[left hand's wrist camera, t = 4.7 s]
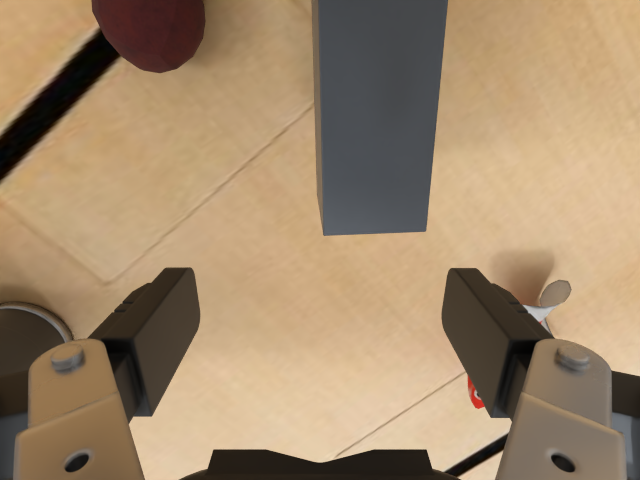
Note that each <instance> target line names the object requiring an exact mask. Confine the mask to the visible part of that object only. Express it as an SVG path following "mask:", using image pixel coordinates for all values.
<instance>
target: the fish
mask: <svg viewBox="0 0 640 480" xmlns="http://www.w3.org/2000/svg"><path fill="white" fill-rule="evenodd" d="M570 292H571V287H570V284H569V282H568V281H564V280H557V281H555V282H553V283H551V284H550V285H548V286H547V287H546V288H545V290H544V291H543V293H542V296H541V298H540V304H541V307H538V306H527V305H523V306H524V307H525V308H526V309H527V310H528V313H531V314H532V315H533V316H534V317H535V318H536V319H537V321H538V322H539V323H540V324H541V325H542V326H543V327H544V328H545V329H546V330H547V331H548V332H549V333H550V334H551V335H552V333H551V331H550V329H549V327H548V325H547V322H546V320H545V317H546V316H547V315H548V314H549V313H550V312H551V311H552V310H553V309H554V308H555V307H556V306H558V305H559V304H561V303H563V302H565V301H566V299H567V298H568V296H569V295H570ZM552 336H553V335H552ZM468 392H469V396H470V399H471V401H472V403H473V405H474V406H475V408H478V409H479V408H482V407H485V406H484V404H483V402H482V400H481V398H480V397H479V395H478V393H477V391H476V389H475V387H474V385H473V384H472V382H471V380H470V378H469V376H468Z"/></svg>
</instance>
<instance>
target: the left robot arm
mask: <svg viewBox="0 0 640 480" xmlns="http://www.w3.org/2000/svg"><path fill="white" fill-rule="evenodd" d="M199 323H200V307H199V301H198V294H197V287H196V281H195V275H194V271H193V269H192V268H165V269H164V270H163V271H162V272H161V273H160V274H159V275H158V276H157V277H156V278H155V279H154V281H153V282H152V283H147V284H145V285H143V286H142V287H140V288H138V289H136V290H135V291H133V292H132V293H131V294H130V295H129V296H128V297H127V298H126V299H125V300H124V301H123V304H120V305H119V306H118V307H117V308H116V309H115V310H114V312H112V313H111V314H110V315H109V316H108V317H107V318H106V319H105V320H104V321H103V323H102V324H101V325H100V326H99V327H98V328H97V329H96V330H95V331H94V332H93V333H92V334H91V335H90V336H89V337H88V338H87V339H78V340H74V341H73V340H72V337H71V334H70V332H69V330H68V329H67V327H66V326H65V325H64V323H63V322H62V321H61V320H60V319H59V318H57V317H56V316H55V315H53V314H52V313H50V312H49V311H47V310H45V309H43V308H41V307H38V306H35V305H32V304H28V303H21V302H10V303H4V304H0V480H145V478H144V475H143V471H142V468H141V465H140V461H139V458H138V455H137V451H136V448H135V444H134V441H133V438H132V434H131V431H130V428H129V423H130V421H131V419H132V418H133V416H152V415H153V413H154V412H155V410H156V408H157V406H158V404H159V402H160V400H161V398H162V396H163V395H164V393H165V391H166V389H167V387H168V385H169V383H170V381H171V379H172V378H173V376H174V374H175V372H176V370H177V368H178V366H179V364H180V362H181V361H182V359H183V357H184V355H185V353H186V351H187V349H188V347H189V345H190V344H191V342H192V340H193V338H194V336H195V334H196V332H197V330H198V327H199ZM442 324H443V328H444V331H445V333H446V335H447V337H448V339H449V341H450V342H451V344H452V346H453V348H454V350H455V352H456V354H457V356H458V357H459V359H460V361H461V363H462V365H463V367H464V369H465V370H466V372H467V374H468V376H469V378H470V380H471V382H472V384H473V385H474V387H475V389H476V391H477V393H478V395H479V397H480V398H481V400H482V402H483V404H484V406H485V408H486V410H487V412H488V413H489V415H490V417H491V418H510V419H511V421H512V424H511V428H510V431H509V434H508V438H507V441H506V444H505V448H504V451H503V455H502V458H501V461H500V465H499V468H498V471H497V475H496V478H495V480H640V376H635V375H630V374H626V373H621V372H616V371H611V369H610V367H609V365H608V364H607V362H606V361H605V360H604V359H603V358H602V357H600V356H599V355H598V354H596V353H595V352H593V351H592V350H590V349H588V348H586V347H584V346H582V345H579V344H576V343H574V342H570V341H566V340H562V339H555V338H554V337H553V336H552V335H551V334H550V333H549V332H548V331H547V330H546V329H545V328H544V327H543V326H542V325H541V324H540V323H539V322H538V321H537V319H536V318H535V317H534V316H533V315H532V314H531V313H528V310H527V309H526V308H525V307H524V306H523V305H520V302H519V301H518V300H517V299H516V298H515V297H514V296H513V295H512V294H511V293H510V292H508V291H507V290H505V289H503V288H501V287H500V286H498V285H496V284H491V283H490V282H489V281H488V280H487V279H486V278H485V277H484V275H483V274H482V273H481V272H480V271H479V270H478V269H476V268H451V269H450V270H449V272H448V275H447V281H446V287H445V294H444V300H443V307H442ZM180 480H460V479H458V478H456V477H454V476H452V475H449V474H447V473H444V472H441V471H439V470H435V469H432V466H431V463H430V460H429V456H428V453H427V450H371V451H367V452H363V453H359V454H355V455H351V456H347V457H343V458H340V459H336V460H332V461H328V462H323V463H317V462H312V461H308V460H304V459H300V458H297V457H293V456H289V455H285V454H281V453H277V452H273V451H269V450H213V453H212V456H211V460H210V463H209V466H208V469H205V470H201V471H199V472H196V473H193V474H191V475H188V476H186V477H184V478H182V479H180Z"/></svg>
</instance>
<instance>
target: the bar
mask: <svg viewBox="0 0 640 480" xmlns="http://www.w3.org/2000/svg"><path fill="white" fill-rule="evenodd" d="M447 5H448V0H312V33H313V68H314V104H315V139H316V174H317V197H318V204H319V210H320V216H321V223H322V229H323V235H324V236H329V235H354V234H378V233H403V232H425V231H426V226H427V216H428V205H429V195H430V184H431V174H432V163H433V153H434V142H435V131H436V121H437V110H438V100H439V89H440V79H441V68H442V58H443V47H444V36H445V26H446V15H447Z"/></svg>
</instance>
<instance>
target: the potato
mask: <svg viewBox="0 0 640 480" xmlns="http://www.w3.org/2000/svg"><path fill="white" fill-rule="evenodd" d="M92 11H93V14H94V16H95V18H96V20H97V22H98V24H99V26H100V28H101V30H102V32H103V34H104V36H105V37H106V39H107V40H108V41H109V42H110V43H111V45H112V46H113V47H114V48H115V49H116V50H117V51H118V53H119V54H120V55H121V56H122V57H123V58H125V59H126V60H127V61H129V62H130V63H132V64H133V65H135V66H136V67H138V68H139V69H141V70H144V71H150V72H156V73H163V72H166V71H170V70H174V69H177V68H179V67H180V66H181V65H182V64H184V63H185V62H186V61H188V60H189V59H190V58H192V57H193V55H194V54H195V52H196V50H197V48H198V46H199V44H200V43H201V41H202V39H203V33H204V27H205V12H204V4H203V1H202V0H92Z"/></svg>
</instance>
